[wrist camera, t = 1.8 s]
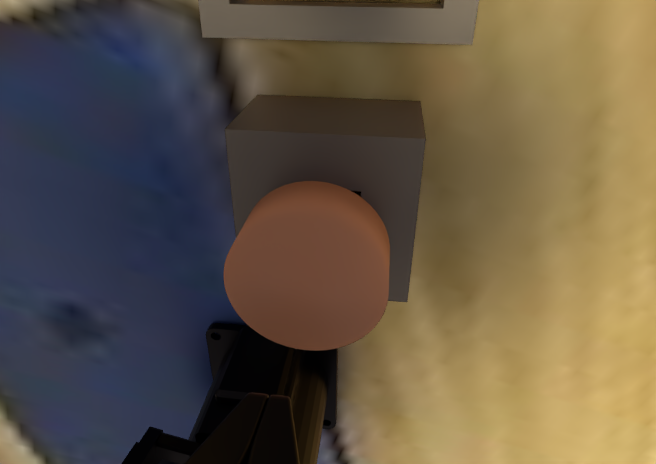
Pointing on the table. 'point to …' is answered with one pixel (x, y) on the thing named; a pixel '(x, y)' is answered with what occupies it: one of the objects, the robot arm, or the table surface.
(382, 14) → the collar
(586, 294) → the table surface
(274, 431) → the robot arm
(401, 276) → the button housing
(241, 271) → the release button
